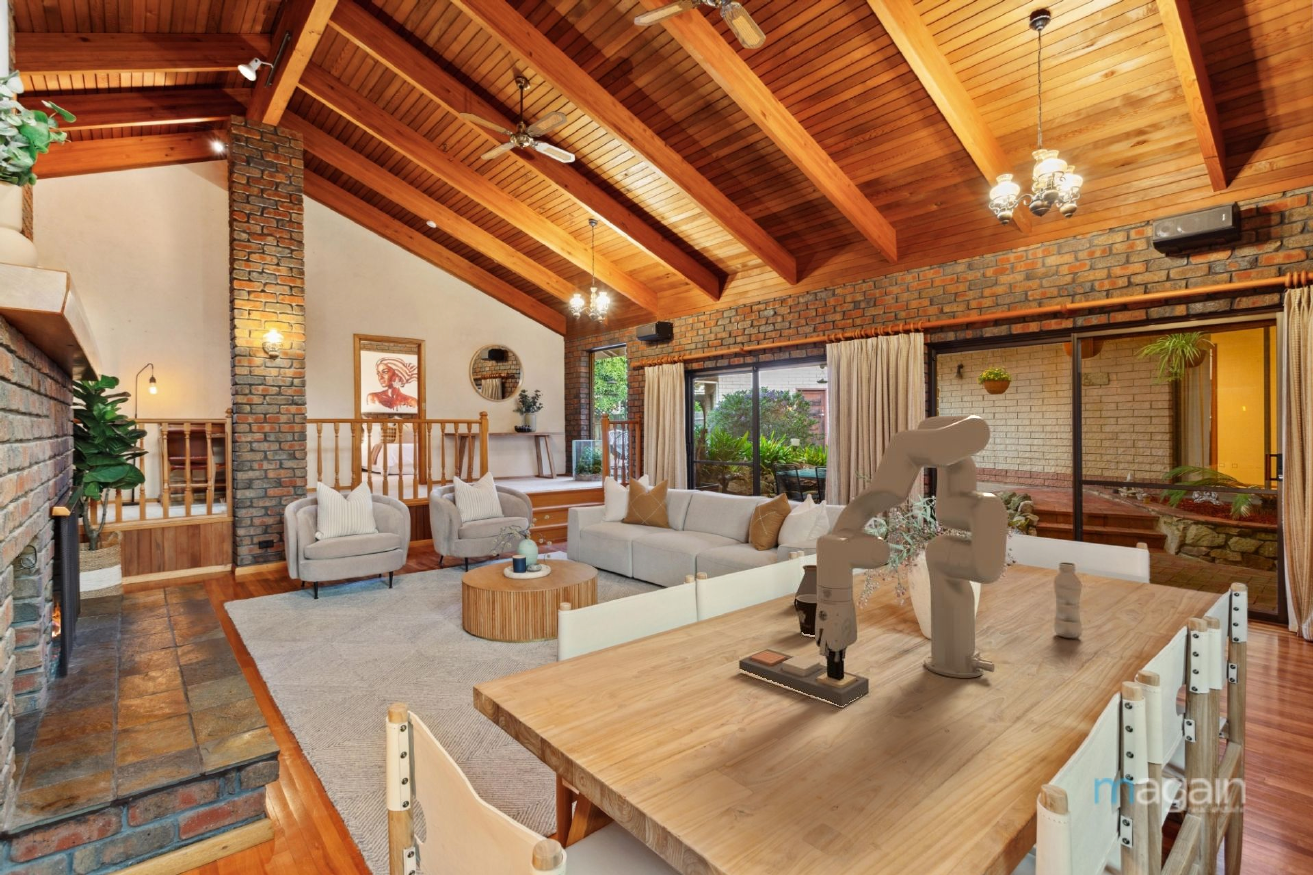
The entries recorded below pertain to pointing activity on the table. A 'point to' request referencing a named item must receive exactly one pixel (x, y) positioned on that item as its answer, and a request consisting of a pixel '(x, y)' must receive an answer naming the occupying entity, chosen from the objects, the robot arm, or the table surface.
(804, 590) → the coffee pot
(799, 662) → the key grey
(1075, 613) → the plastic bottle
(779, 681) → the keypad
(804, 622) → the coffee mug
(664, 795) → the table surface
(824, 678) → the block
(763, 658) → the key terracotta
